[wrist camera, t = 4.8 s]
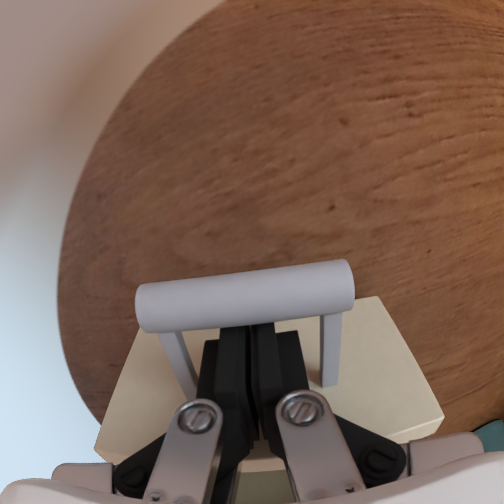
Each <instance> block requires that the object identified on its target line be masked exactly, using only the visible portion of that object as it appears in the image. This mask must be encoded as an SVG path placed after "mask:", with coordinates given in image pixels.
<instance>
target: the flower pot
mask: <svg viewBox="0 0 504 504" xmlns="http://www.w3.org/2000/svg"><path fill="white" fill-rule="evenodd" d="M473 433H474V434H476V435H477V436H478V437H479V438H480V439H481V441H482V444H483V448H484V453H485V452H493V451H504V423H503V421H502V420H497V421H493V422H491V423H489V424H487V425H485V426H483V427H481V428H480V429H478V430H476V431H475V432H473Z"/></svg>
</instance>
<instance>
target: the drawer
mask: <svg viewBox="0 0 504 504" xmlns="http://www.w3.org/2000/svg"><path fill="white" fill-rule="evenodd" d="M135 312H136V317H137V320H138V323H139V325H140V328H139V331H138V333H137V335H136V338H135V340H134V342H133V345H132V347H131V350H130V352H129V355H128V357H127V359H126V362H125V364H124V367H123V369H122V372H121V374H120V377H119V380H118V382H117V385H116V387H115V390H114V393H113V395H112V398H111V401H110V403H109V406H108V409H107V411H106V414H105V417H104V420H103V423H102V426H101V428H100V432H99V434H98V437H97V440H96V443H95V446H94V450H95V451H96V452H97V453H98V454H99V455H100V456H101V457H102V458H103V459H104V460H105V461H106V462H107V463H109V462H112V463H113V464H116V465H117V464H120V463H121V462H122V461H123V460H125V459H127V458H128V457H130V456H131V455H133V454H134V453H136V452H137V451H139V450H141V449H142V448H144V447H145V446H147V445H148V444H150V443H151V442H153V441H154V440H156V439H157V438H159V437H160V436H161V435H163V434H164V433H166V432H167V430H168V428H169V425H170V422H171V420H172V417H173V415H174V413H175V411H176V409H177V408H178V407H180V406H181V405H182V404H183V403H185V402H187V401H189V400H193V399H196V393H197V386H198V380H199V373H200V367H201V360H202V354H203V348H204V343H205V341H206V340H213V339H219V333H220V328H226V327H236V326H245V325H254V324H263V323H271V322H274V325H275V333H278V332H285V331H293V330H297V331H298V334H299V339H300V344H301V349H302V354H303V358H304V363H305V368H306V373H307V378H308V383H309V388H310V390H313V391H316V392H319V393H320V394H321V395H323V396H324V397H325V398H326V400H327V401H328V403H329V405H330V407H331V409H332V412H333V413H334V414H336V415H338V416H340V417H342V418H344V419H346V420H348V421H350V422H352V423H354V424H357V425H359V426H361V427H363V428H365V429H367V430H370V431H372V432H374V433H376V434H378V435H381V436H383V437H385V438H388V439H390V440H392V441H394V442H396V443H398V444H402V443H408V442H409V440H416V439H420V438H422V437H425V436H428V435H431V434H433V433H435V432H436V430H437V429H438V427H439V426H440V424H441V422H442V421H443V419H444V414H443V412H442V410H441V408H440V406H439V404H438V402H437V400H436V398H435V396H434V394H433V392H432V390H431V388H430V386H429V384H428V382H427V381H426V379H425V377H424V375H423V373H422V371H421V369H420V368H419V366H418V364H417V362H416V360H415V358H414V357H413V355H412V353H411V351H410V350H409V348H408V346H407V344H406V342H405V341H404V339H403V337H402V336H401V334H400V332H399V330H398V329H397V327H396V325H395V324H394V322H393V320H392V319H391V317H390V315H389V314H388V312H387V310H386V309H385V307H384V306H383V304H382V302H381V301H380V299H379V297H378V296H373V297H367V298H362V299H356V300H355V288H354V280H353V275H352V272H351V269H350V266H349V264H348V262H347V261H346V260H345V259H338V260H331V261H323V262H316V263H309V264H302V265H294V266H287V267H279V268H271V269H264V270H256V271H248V272H240V273H232V274H224V275H216V276H208V277H199V278H191V279H182V280H174V281H165V282H156V283H147V284H142V285H140V286H139V287H138V289H137V292H136V296H135ZM253 445H254V449H250V454H249V455H248V456H247V457H246V458H244V459H243V460H242V469H241V475H240V480H239V485H238V490H237V496H236V501H235V504H287V503H295V502H294V498H293V495H292V491H291V488H290V484H289V481H288V477H287V474H286V470H285V467H284V463H283V460H282V459H280V458H279V457H277V456H276V455H274V454H273V453H271V452H270V448H269V443H268V440H264V438H263V434H262V430H261V426H260V422H259V441H253Z"/></svg>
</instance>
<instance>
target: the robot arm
mask: <svg viewBox="0 0 504 504" xmlns="http://www.w3.org/2000/svg"><path fill="white" fill-rule="evenodd" d="M259 422H260V426H261V430H262V434H263V438H264V440H268V443H269V448H270V452H271V453H273V454H274V455H276V456H277V457H279V458H280V459H282V460H283V463H284V467H285V470H286V474H287V477H288V481H289V484H290V488H291V491H292V495H293V498H294V502H295V503H287V504H504V451H493V452H485V453H484V448H483V444H482V441H481V439H480V438H479V437H478V436H477V435H476V434H474V433H472V432H459V433H454V434H449V435H443V436H437V437H431V438H424V439H416V440H409V442H408V443H402V444H398V443H396V442H394V441H392V440H390V439H388V438H385V437H383V436H381V435H378V434H376V433H374V432H372V431H370V430H367V429H365V428H363V427H361V426H359V425H357V424H354V423H352V422H350V421H348V420H346V419H344V418H342V417H340V416H338V415H336V414H334V413H333V412H332V409H331V407H330V405H329V403H328V401H327V400H326V398H325V397H324V396H323V395H321V394H320V393H319V392H316V391H313V390H310V388H309V383H308V378H307V373H306V368H305V363H304V358H303V354H302V349H301V344H300V339H299V334H298V331H297V330H293V331H285V332H278V333H275V325H274V322H271V323H263V324H254V325H245V326H236V327H226V328H220V333H219V339H213V340H206V341H205V343H204V348H203V354H202V360H201V367H200V373H199V380H198V386H197V393H196V399H193V400H189V401H187V402H185V403H183V404H182V405H181V406H180V407H178V408H177V409H176V411H175V413H174V415H173V417H172V420H171V422H170V425H169V428H168V430H167V432H166V433H164V434H163V435H161V436H160V437H159V438H157V439H156V440H154V441H153V442H151V443H150V444H148V445H147V446H145V447H144V448H142V449H141V450H139V451H137V452H136V453H134V454H133V455H131V456H130V457H128V458H127V459H125V460H123V461H122V462H121V463H120V464H117V465H114V464H113V463H112V462H109V463H64V464H61V465H59V466H57V467H56V468H55V470H54V471H53V474H52V477H51V480H50V479H41V478H30V479H23V480H18V481H15V482H12V483H11V484H9V485H7V487H6V488H5V489H4V490H3V492H2V493H1V495H0V504H235V501H236V496H237V490H238V485H239V480H240V475H241V469H242V460H243V459H244V458H246V457H247V456H248V455H249V454H250V449H254V445H253V441H259Z"/></svg>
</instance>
